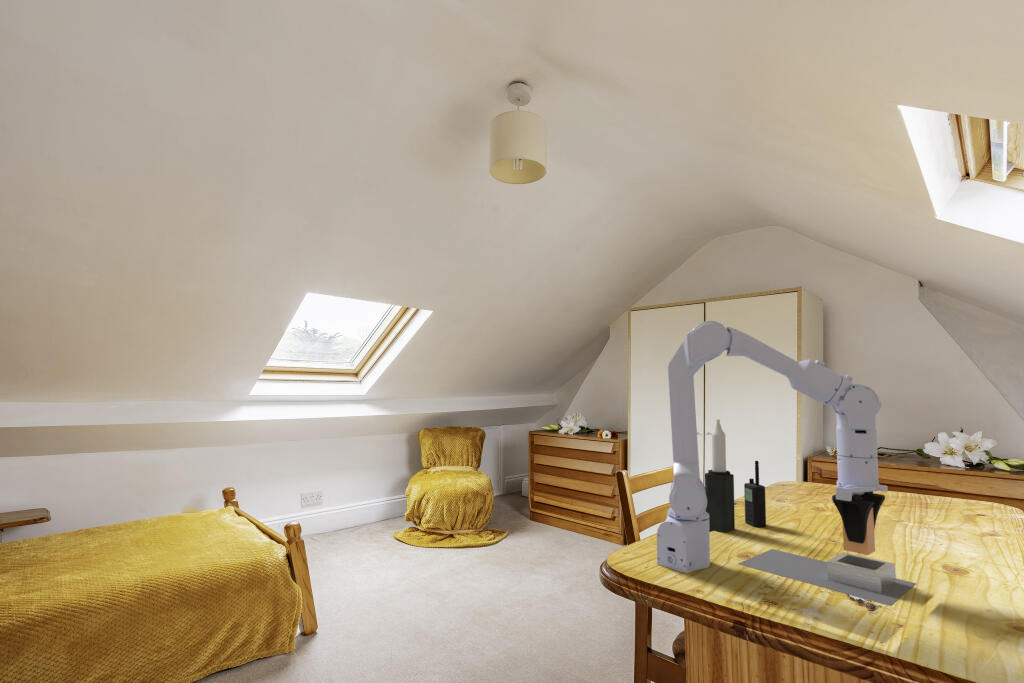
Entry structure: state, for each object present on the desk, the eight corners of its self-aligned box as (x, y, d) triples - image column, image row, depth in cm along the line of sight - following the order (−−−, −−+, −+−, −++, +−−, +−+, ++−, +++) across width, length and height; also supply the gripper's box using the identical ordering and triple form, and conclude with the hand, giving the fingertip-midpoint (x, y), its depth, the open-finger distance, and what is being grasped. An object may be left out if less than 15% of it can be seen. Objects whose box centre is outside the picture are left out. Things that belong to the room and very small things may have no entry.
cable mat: (890, 611, 77) (890, 605, 77) (737, 568, 95) (737, 563, 95) (916, 588, 86) (916, 583, 86) (772, 553, 104) (772, 548, 104)
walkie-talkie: (743, 522, 127) (742, 458, 129) (757, 522, 128) (755, 458, 129) (755, 527, 123) (753, 461, 124) (769, 527, 123) (767, 461, 124)
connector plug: (868, 555, 85) (865, 500, 86) (843, 549, 88) (841, 496, 89) (875, 551, 87) (872, 497, 88) (850, 545, 90) (848, 494, 91)
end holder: (881, 593, 82) (880, 573, 82) (827, 579, 88) (827, 560, 88) (895, 582, 87) (895, 563, 87) (844, 569, 92) (843, 552, 93)
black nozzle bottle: (725, 536, 115) (722, 420, 117) (703, 531, 119) (701, 418, 121) (736, 532, 118) (734, 419, 120) (715, 527, 122) (713, 418, 124)
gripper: (870, 462, 81) (874, 554, 80) (898, 455, 90) (902, 537, 89) (820, 457, 86) (823, 543, 85) (851, 451, 96) (854, 528, 95)
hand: (860, 539), depth 88 cm, fingers closed on connector plug, 3 cm apart
